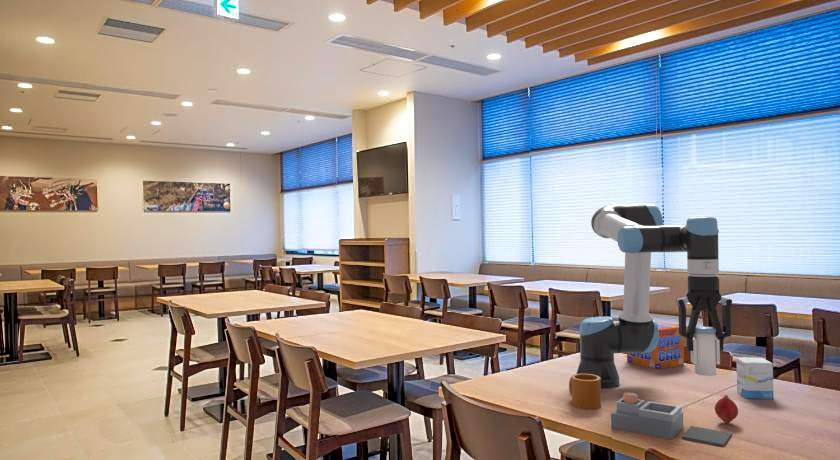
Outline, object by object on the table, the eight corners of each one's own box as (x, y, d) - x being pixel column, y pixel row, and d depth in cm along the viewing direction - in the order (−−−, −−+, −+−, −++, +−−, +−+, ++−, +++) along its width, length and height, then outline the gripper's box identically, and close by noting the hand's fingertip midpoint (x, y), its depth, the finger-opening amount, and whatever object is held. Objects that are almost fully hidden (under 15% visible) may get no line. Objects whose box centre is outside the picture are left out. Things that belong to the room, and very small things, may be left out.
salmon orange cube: (622, 408, 164) (621, 394, 164) (626, 405, 167) (626, 391, 167) (635, 411, 162) (634, 396, 162) (639, 407, 165) (638, 393, 165)
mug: (586, 397, 191) (586, 370, 191) (606, 408, 180) (606, 379, 180) (561, 399, 189) (561, 372, 189) (580, 410, 178) (580, 381, 178)
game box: (654, 357, 248) (654, 321, 248) (684, 365, 233) (683, 326, 233) (626, 361, 241) (625, 324, 242) (655, 369, 227) (654, 329, 227)
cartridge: (691, 371, 156) (690, 326, 156) (712, 371, 155) (711, 326, 155) (698, 375, 151) (697, 329, 151) (720, 376, 150) (719, 329, 150)
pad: (681, 438, 152) (681, 436, 152) (691, 428, 160) (691, 425, 160) (723, 446, 146) (723, 444, 146) (731, 435, 154) (731, 433, 154)
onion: (710, 420, 166) (710, 392, 166) (729, 419, 167) (729, 391, 167) (723, 426, 160) (722, 398, 161) (742, 425, 161) (742, 397, 161)
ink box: (774, 399, 185) (773, 363, 185) (745, 398, 187) (744, 362, 187) (764, 392, 193) (763, 357, 193) (736, 391, 195) (735, 356, 195)
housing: (611, 427, 162) (610, 404, 162) (625, 416, 171) (625, 394, 171) (671, 439, 152) (671, 414, 152) (683, 426, 161) (682, 403, 161)
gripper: (671, 276, 151) (673, 366, 151) (745, 276, 148) (747, 366, 148) (663, 274, 158) (665, 359, 158) (733, 273, 156) (735, 360, 155)
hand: (705, 362), depth 153 cm, fingers closed on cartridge, 5 cm apart
